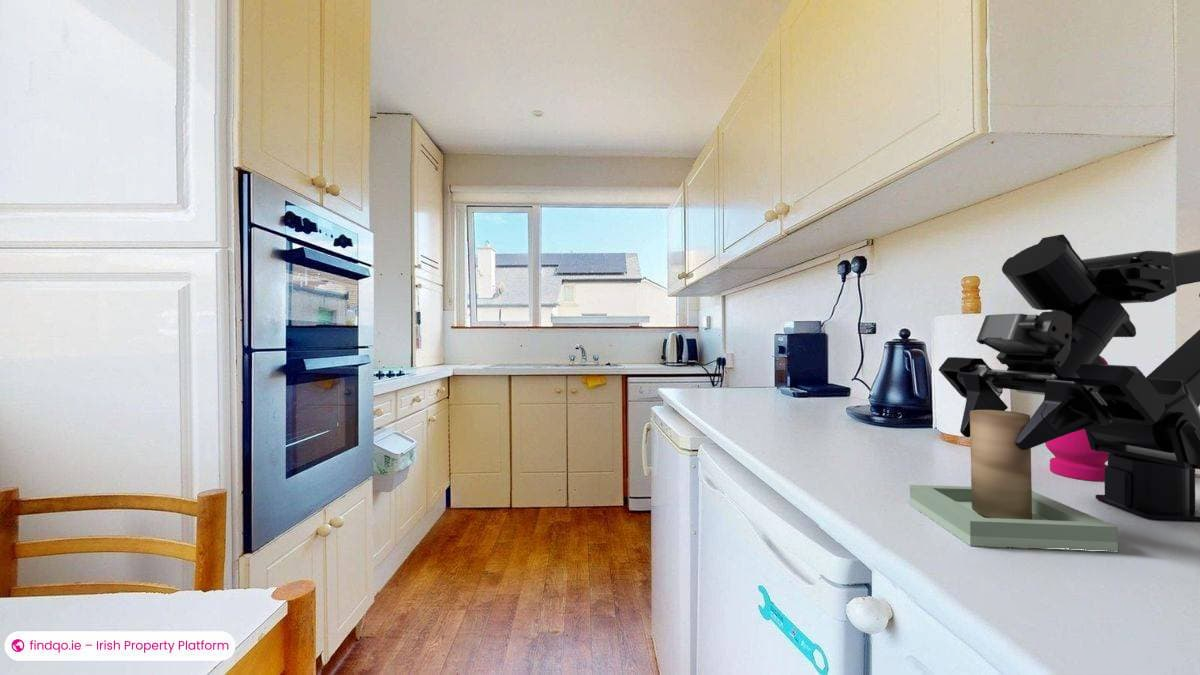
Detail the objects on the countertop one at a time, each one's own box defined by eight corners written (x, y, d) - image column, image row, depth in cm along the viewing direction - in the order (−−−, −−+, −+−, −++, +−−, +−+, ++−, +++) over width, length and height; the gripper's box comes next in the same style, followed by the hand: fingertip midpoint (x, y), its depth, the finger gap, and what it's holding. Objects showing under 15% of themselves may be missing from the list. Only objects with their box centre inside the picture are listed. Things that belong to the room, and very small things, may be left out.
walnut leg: (990, 501, 53) (988, 408, 53) (1043, 517, 48) (1041, 415, 48) (961, 507, 52) (959, 412, 52) (1012, 525, 47) (1010, 419, 47)
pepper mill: (1082, 468, 70) (1082, 340, 70) (1132, 483, 63) (1132, 340, 63) (1032, 467, 71) (1031, 340, 71) (1075, 482, 64) (1075, 341, 64)
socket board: (1026, 508, 55) (1025, 488, 55) (1117, 552, 44) (1117, 526, 44) (910, 504, 56) (909, 484, 56) (970, 545, 45) (970, 521, 45)
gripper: (950, 296, 60) (877, 382, 58) (1141, 278, 41) (1044, 403, 40) (999, 354, 61) (930, 440, 59) (1206, 362, 43) (1115, 487, 41)
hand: (989, 440), depth 50 cm, fingers open, 6 cm apart
